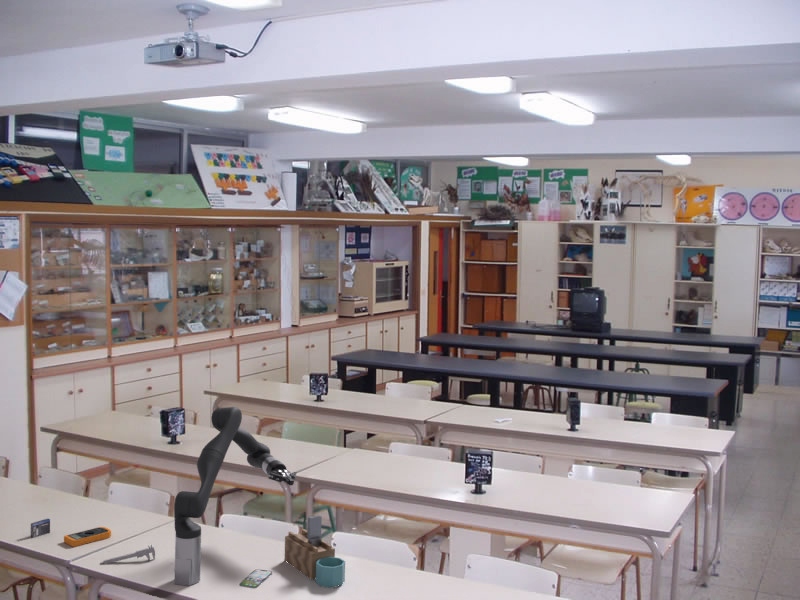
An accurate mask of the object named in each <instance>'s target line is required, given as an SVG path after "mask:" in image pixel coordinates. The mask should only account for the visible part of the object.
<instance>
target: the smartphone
mask: <svg viewBox="0 0 800 600" xmlns="http://www.w3.org/2000/svg"><path fill="white" fill-rule="evenodd" d="M270 575H271V576H272V575H273V571H272V570H267V569H261V568H257V569H254V570H253V571H252V572H251V573H249V575H247V576H246V577H245V578H244V579H243V580H242V581H241V582H239V585H240V586H239V585H238V586H239V587H244V586H245V587H246V588H250V589H251V588H253V589H257V588H259V587H260V586H261V585H262V584H263V583H264V582H265V581H266V580H267V579H268V578H270V577H269V576H270ZM261 583H262V584H261Z"/></svg>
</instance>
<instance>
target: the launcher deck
mask: <svg viewBox="0 0 800 600" xmlns="http://www.w3.org/2000/svg"><path fill="white" fill-rule="evenodd" d="M335 553H336V549H335V547H334V546H333V545H332V544H330V543H328V542H326V541H325V540H323V539H322V543H321V545H319V546H313V545H312V544H310V543H309V542H308V537H307V529H305V528H302V529H301V532H299V533H294V532H293V531H288V535H285V537H284V558H283V559H284V560H285V561H284V560H283V561H284V562H286V561H287V562H288V563H289V565H290V564H291V565H292V566H291V565H290V566H291V567H293V566H294V567H295V568H294V567H293V568H294V569H296V570H297V569H298V570H299V572H300V571H301V572H302V573H301V572H300V573H301V574H303V573H304V574H305V576H306V577H307V576H308V577H307V578H309V579H310V578H311V579H310V580H315V579H314V578H316V562H317V561H318V560H319V559H321V558H326V557H336V554H335ZM287 562H286V563H287ZM288 563H287V564H288ZM298 570H297V571H298ZM304 574H303V575H304Z"/></svg>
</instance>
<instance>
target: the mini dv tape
mask: <svg viewBox="0 0 800 600" xmlns="http://www.w3.org/2000/svg"><path fill="white" fill-rule="evenodd" d="M50 533H51V518H45V519H41V520H38V521H34V522H31V523H30V538H32V539H33V538H34V539H35V538H38V537H41V536H44V535H47V534H50Z"/></svg>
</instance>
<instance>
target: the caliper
mask: <svg viewBox="0 0 800 600" xmlns="http://www.w3.org/2000/svg"><path fill="white" fill-rule="evenodd" d="M150 554H151V555H152V558H153V559H152V560H155V559H156V551H155V546H153V545H152V544H151V545H147V548H146V547H145V548H143V549H139V550H135V552H130V553H126V554H123V555H119V556H115V557H111V558H110V557H109V558H108V559H107V558H106V559H103V561H101V562H100V563H99V564H100V565H103V564H105V565H106V564H111V563H115V562H116V563H117V562H120V561H124V560H128V559H132V558H136V559H139V558H142V557H144V556H145V557H146V559H147V560H148V561H151V556H150Z"/></svg>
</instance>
